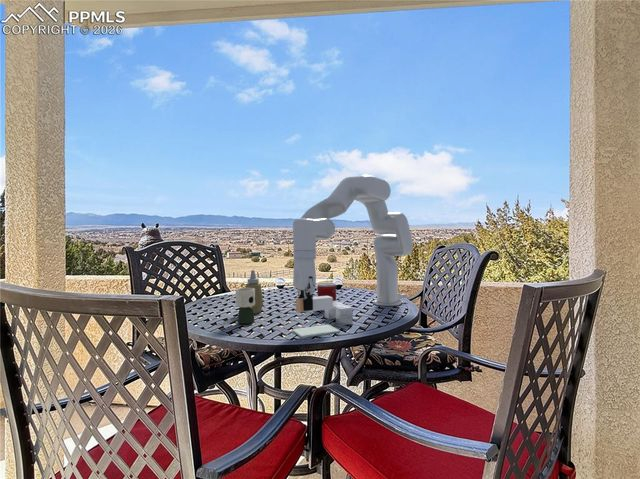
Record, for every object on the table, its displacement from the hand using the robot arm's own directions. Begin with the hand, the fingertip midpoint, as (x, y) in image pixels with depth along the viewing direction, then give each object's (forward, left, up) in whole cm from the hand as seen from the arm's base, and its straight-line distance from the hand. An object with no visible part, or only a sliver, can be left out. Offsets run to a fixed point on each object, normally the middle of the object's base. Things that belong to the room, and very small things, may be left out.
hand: (305, 308), depth 131 cm
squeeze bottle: (+8, -39, -9) cm, 41 cm away
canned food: (-22, -30, -9) cm, 38 cm away
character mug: (+15, -23, -9) cm, 29 cm away
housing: (-17, -10, -8) cm, 22 cm away
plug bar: (-3, 0, -1) cm, 3 cm away
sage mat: (-4, 0, -8) cm, 9 cm away
